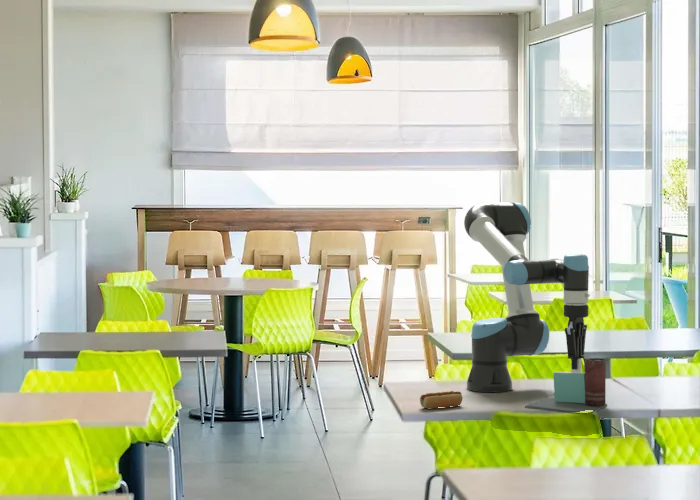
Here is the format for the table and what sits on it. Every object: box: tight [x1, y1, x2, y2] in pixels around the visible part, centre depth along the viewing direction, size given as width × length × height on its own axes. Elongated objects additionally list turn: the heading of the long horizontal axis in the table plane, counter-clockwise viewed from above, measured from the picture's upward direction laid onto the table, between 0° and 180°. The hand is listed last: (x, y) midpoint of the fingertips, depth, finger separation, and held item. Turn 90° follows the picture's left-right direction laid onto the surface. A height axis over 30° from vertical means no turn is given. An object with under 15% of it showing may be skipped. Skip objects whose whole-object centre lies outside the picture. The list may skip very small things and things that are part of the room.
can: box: [583, 358, 607, 407], centre depth 325 cm, size 6×6×14 cm
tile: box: [553, 371, 585, 403], centre depth 330 cm, size 10×2×9 cm, turn 56°
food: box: [419, 390, 464, 409], centre depth 327 cm, size 14×6×5 cm, turn 114°
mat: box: [524, 397, 608, 413], centre depth 327 cm, size 20×16×1 cm
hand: (576, 379), depth 333 cm, fingers closed
